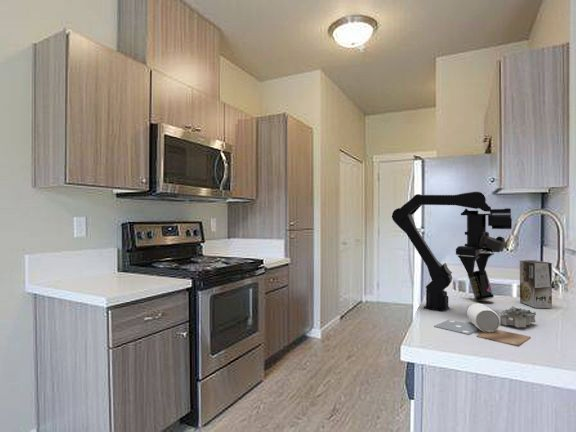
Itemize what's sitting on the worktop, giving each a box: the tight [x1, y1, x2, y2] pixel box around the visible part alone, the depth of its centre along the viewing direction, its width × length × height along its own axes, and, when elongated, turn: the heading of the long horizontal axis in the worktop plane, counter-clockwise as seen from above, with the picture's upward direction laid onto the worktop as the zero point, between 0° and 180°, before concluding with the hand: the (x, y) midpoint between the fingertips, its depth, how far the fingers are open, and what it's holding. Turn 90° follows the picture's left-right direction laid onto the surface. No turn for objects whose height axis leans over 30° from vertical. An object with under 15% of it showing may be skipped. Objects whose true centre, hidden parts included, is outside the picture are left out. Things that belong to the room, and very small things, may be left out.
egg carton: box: [497, 306, 537, 328], centre depth 111 cm, size 11×8×4 cm
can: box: [466, 302, 501, 333], centre depth 107 cm, size 6×6×12 cm
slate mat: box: [433, 319, 481, 336], centre depth 108 cm, size 10×10×1 cm
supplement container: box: [467, 269, 495, 302], centre depth 142 cm, size 7×7×10 cm
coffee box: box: [519, 259, 553, 309], centre depth 135 cm, size 9×6×16 cm
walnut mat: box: [476, 329, 532, 348], centre depth 99 cm, size 10×10×1 cm
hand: (476, 274), depth 124 cm, fingers open, 9 cm apart
